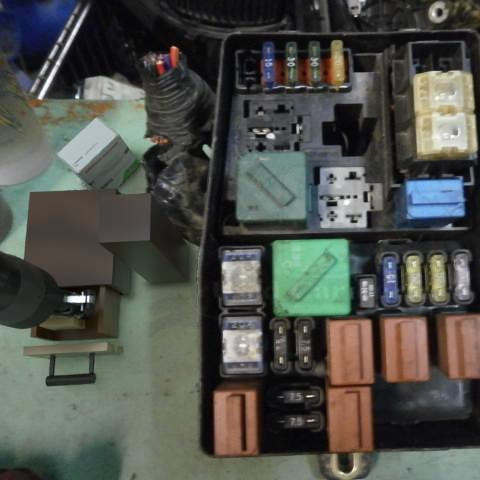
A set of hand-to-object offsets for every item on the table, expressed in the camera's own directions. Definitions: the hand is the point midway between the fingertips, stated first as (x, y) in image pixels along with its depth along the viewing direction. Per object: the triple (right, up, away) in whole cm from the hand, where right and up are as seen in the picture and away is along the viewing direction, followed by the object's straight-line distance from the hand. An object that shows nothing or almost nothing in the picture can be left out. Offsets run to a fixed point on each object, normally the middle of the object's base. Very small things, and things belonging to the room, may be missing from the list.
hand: (69, 313), depth 77 cm
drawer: (0, -3, +6) cm, 6 cm away
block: (0, 0, 0) cm, 0 cm away
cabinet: (-1, +8, +10) cm, 13 cm away
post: (+12, +6, +10) cm, 17 cm away
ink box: (+1, +21, +14) cm, 26 cm away
